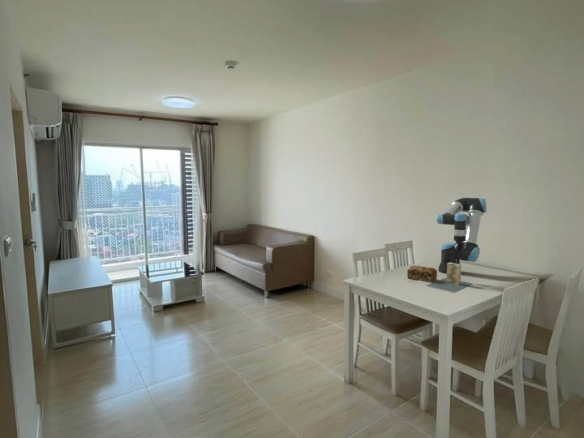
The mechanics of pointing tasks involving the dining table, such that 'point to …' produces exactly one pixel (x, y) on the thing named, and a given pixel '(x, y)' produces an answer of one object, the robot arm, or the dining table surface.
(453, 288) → the mat
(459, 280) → the slab
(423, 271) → the bread
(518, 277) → the dining table surface
